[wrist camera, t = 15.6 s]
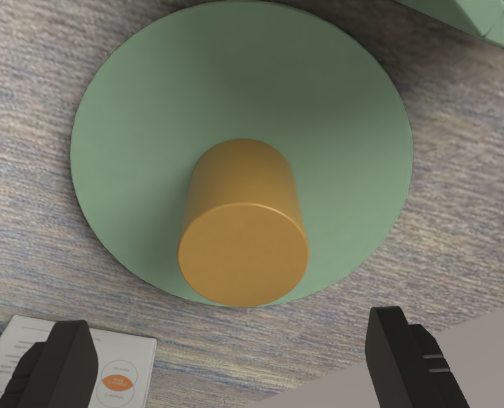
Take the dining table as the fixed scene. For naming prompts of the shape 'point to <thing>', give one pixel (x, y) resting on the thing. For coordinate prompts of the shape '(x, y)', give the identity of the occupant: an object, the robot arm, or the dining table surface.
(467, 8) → the tin
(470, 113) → the dining table surface
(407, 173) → the lid
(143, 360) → the small box
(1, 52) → the dining table surface
